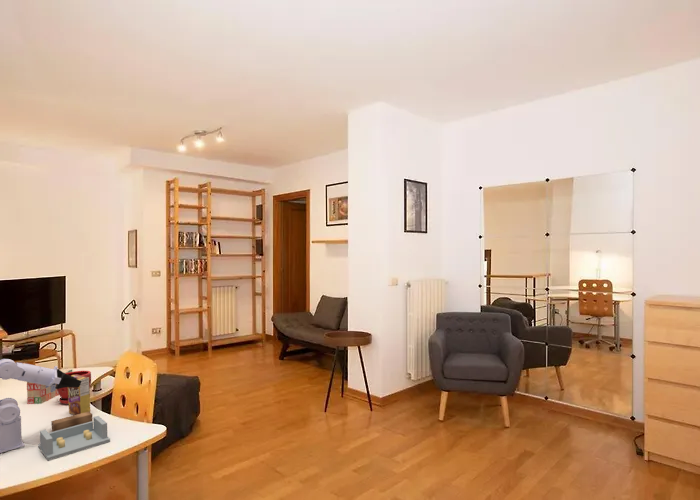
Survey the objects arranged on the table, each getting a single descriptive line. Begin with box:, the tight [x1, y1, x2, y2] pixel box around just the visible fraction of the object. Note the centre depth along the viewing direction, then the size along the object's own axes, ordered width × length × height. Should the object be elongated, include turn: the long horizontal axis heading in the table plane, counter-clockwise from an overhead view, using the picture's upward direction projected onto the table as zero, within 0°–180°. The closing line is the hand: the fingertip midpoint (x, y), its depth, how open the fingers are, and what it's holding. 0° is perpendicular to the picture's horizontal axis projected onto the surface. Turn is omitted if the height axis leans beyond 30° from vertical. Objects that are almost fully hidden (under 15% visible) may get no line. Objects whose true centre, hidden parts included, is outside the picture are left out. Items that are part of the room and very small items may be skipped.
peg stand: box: [37, 415, 111, 462], centre depth 149 cm, size 18×14×6 cm
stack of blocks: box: [26, 368, 73, 405], centre depth 201 cm, size 21×6×12 cm, turn 179°
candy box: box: [68, 374, 91, 416], centre depth 177 cm, size 9×4×15 cm, turn 60°
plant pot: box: [56, 370, 92, 405], centre depth 193 cm, size 13×13×12 cm
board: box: [50, 411, 93, 432], centre depth 158 cm, size 12×4×6 cm, turn 136°
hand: (77, 382), depth 162 cm, fingers open, 7 cm apart
